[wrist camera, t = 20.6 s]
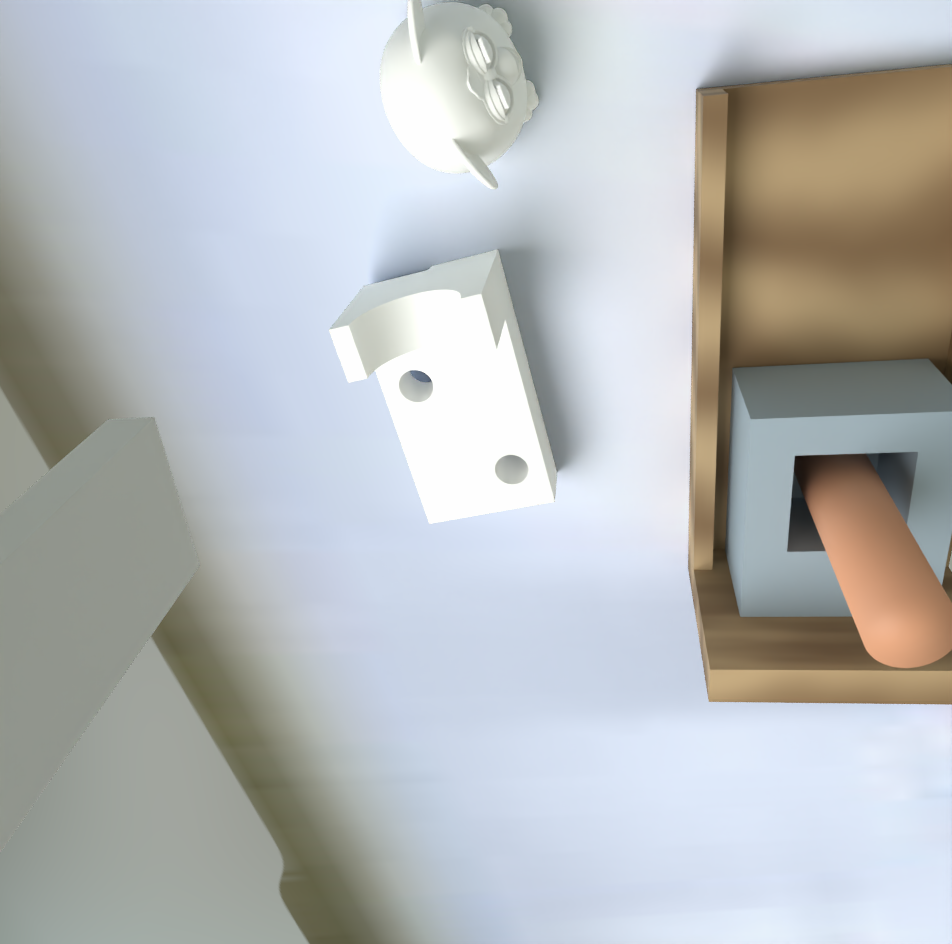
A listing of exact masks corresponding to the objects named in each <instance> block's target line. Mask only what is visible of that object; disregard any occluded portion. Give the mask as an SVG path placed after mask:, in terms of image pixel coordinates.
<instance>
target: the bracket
mask: <svg viewBox="0 0 952 944" xmlns="http://www.w3.org/2000/svg"><path fill="white" fill-rule="evenodd" d="M329 332H330V334H331V337H332V340H333V342H334V345H335V348H336V350H337V353H338V356H339V359H340V361H341V364H342V367H343V369H344V372H345V375H346V377H347V380H348V383H349V382H353V381H358V380H362V379H367V378H368V377H369V376H370V375H371V373H373V372H374V371H376V374H377V377H378V379H379V382H380V385H381V388H382V391H383V394H384V396H385V399H386V402H387V405H388V408H389V411H390V413H391V416H392V419H393V422H394V425H395V428H396V430H397V433H398V436H399V439H400V442H401V445H402V447H403V450H404V453H405V456H406V459H407V462H408V464H409V467H410V470H411V473H412V476H413V479H414V481H415V484H416V487H417V490H418V493H419V496H420V498H421V501H422V504H423V507H424V510H425V513H426V515H427V518H428V521H429V524H431V523H437V522H442V521H448V520H454V519H459V518H465V517H471V516H477V515H482V514H488V513H494V512H499V511H505V510H511V509H516V508H522V507H528V506H533V505H539V504H545V503H550V502H555V493H556V481H557V470H556V466H555V462H554V458H553V455H552V451H551V447H550V443H549V439H548V436H547V432H546V428H545V424H544V421H543V417H542V413H541V409H540V406H539V402H538V398H537V394H536V391H535V387H534V383H533V379H532V375H531V372H530V368H529V364H528V360H527V357H526V353H525V349H524V345H523V342H522V338H521V334H520V330H519V326H518V323H517V319H516V315H515V311H514V308H513V304H512V300H511V296H510V293H509V289H508V285H507V281H506V277H505V274H504V270H503V266H502V262H501V259H500V255H499V251H498V249H497V250H493V251H489V252H485V253H481V254H477V255H473V256H469V257H465V258H461V259H457V260H453V261H449V262H445V263H441V264H437V265H433V266H431V267H430V269H429V270H426V271H422V272H418V273H414V274H410V275H406V276H402V277H398V278H394V279H390V280H386V281H382V282H378V283H374V284H369V285H365V286H363V287H362V289H361V290H360V291H359V292H358V294H357V295H356V296H355V298H354V299H353V300H352V301H351V303H350V304H349V305H348V306H347V308H346V309H345V310H344V312H343V313H342V314H341V315H340V317H339V318H338V319H337V320H336V322H335V323H334V324H333V325H332V327H331V328H330V329H329ZM411 370H419V371H422V372H424V373H425V374H427V375H428V376H429V377H430V379H431V380H432V381H431V382H421V381H418V380H417V379H415V378H414V377H413V376H412V375H411V373H410V371H411ZM515 455H516V456H515Z"/></svg>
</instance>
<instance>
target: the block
mask: <svg viewBox="0 0 952 944" xmlns="http://www.w3.org/2000/svg"><path fill="white" fill-rule="evenodd" d="M864 453H866V454H867V456H868V458H869V459H870V461H871V463H872V465H873V466H874V468H875V470H876V472H877V473H878V475H879V477H880V479H881V480H882V482H883V484H884V486H885V487H886V489H887V491H888V493H889V494H890V496H891V498H892V500H893V501H894V503H895V505H896V507H897V508H898V510H899V512H900V514H901V515H902V517H903V519H904V521H905V522H906V524H907V526H908V528H909V529H910V531H911V533H912V535H913V536H914V538H915V540H916V542H917V543H918V545H919V547H920V549H921V550H922V552H923V554H924V556H925V557H926V559H927V561H928V563H929V564H930V566H931V568H932V570H933V571H934V573H935V575H936V576H937V578H938V580H939V582H940V583H941V585H942V583H943V577H944V572H945V567H946V561H947V556H948V551H949V545H950V540H951V535H952V384H951V383H950V382H949V381H948V380H947V379H946V378H945V377H944V376H943V374H942V373H941V372H940V371H939V370H938V369H937V368H936V367H935V366H934V364H933V363H932V362H931V361H930V360H929V359H908V360H887V361H867V362H846V363H825V364H804V365H783V366H763V367H742V368H732V393H731V417H730V442H729V466H728V491H727V515H726V540H725V552H726V556H727V561H728V565H729V569H730V574H731V578H732V583H733V587H734V592H735V596H736V600H737V605H738V609H739V614H740V617H849V616H852V614H851V612H850V609H849V607H848V604H847V602H846V599H845V597H844V595H843V592H842V590H841V587H840V585H839V582H838V580H837V577H836V575H835V572H834V570H833V567H832V565H831V562H830V560H829V557H828V555H827V552H826V550H825V548H824V545H823V543H822V540H821V538H820V535H819V533H818V530H817V528H816V525H815V523H814V520H813V518H812V515H811V513H810V510H809V508H808V505H807V503H806V501H805V498H804V496H803V493H802V491H801V488H800V486H799V483H798V481H797V478H796V476H795V473H794V460H795V456H802V455H833V454H864Z"/></svg>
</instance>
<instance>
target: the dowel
mask: <svg viewBox="0 0 952 944" xmlns="http://www.w3.org/2000/svg"><path fill="white" fill-rule="evenodd" d="M794 473H795V476H796V478H797V481H798V483H799V486H800V488H801V491H802V493H803V496H804V498H805V501H806V503H807V505H808V508H809V510H810V513H811V515H812V518H813V520H814V523H815V525H816V528H817V530H818V533H819V535H820V538H821V540H822V543H823V545H824V548H825V550H826V552H827V555H828V557H829V560H830V562H831V565H832V567H833V570H834V572H835V575H836V577H837V580H838V582H839V585H840V587H841V590H842V592H843V595H844V597H845V599H846V602H847V604H848V607H849V609H850V612H851V614H852V617H853V619H854V622H855V624H856V627H857V629H858V632H859V634H860V637H861V639H862V642H863V644H864V647H865V648H866V650H867V652H868V653H869V654H870V655H871V656H872V657H873V658H874V659H875V660H877V661H879V662H880V663H882V664H885V665H888V666H892V667H898V668H914V667H920V666H924V665H927V664H930V663H933V662H935V661H937V660H939V659H941V658H942V657H944V656H945V655H946V654H948V653H949V652H950V651H951V650H952V603H951V601H950V599H949V597H948V596H947V594H946V592H945V590H944V589H943V587H942V585H941V583H940V582H939V580H938V578H937V576H936V575H935V573H934V571H933V570H932V568H931V566H930V564H929V563H928V561H927V559H926V557H925V556H924V554H923V552H922V550H921V549H920V547H919V545H918V543H917V542H916V540H915V538H914V536H913V535H912V533H911V531H910V529H909V528H908V526H907V524H906V522H905V521H904V519H903V517H902V515H901V514H900V512H899V510H898V508H897V507H896V505H895V503H894V501H893V500H892V498H891V496H890V494H889V493H888V491H887V489H886V487H885V486H884V484H883V482H882V480H881V479H880V477H879V475H878V473H877V472H876V470H875V468H874V466H873V465H872V463H871V461H870V459H869V458H868V456H867V454H866V453H864V454H833V455H802V456H795V460H794Z"/></svg>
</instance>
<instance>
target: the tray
mask: <svg viewBox="0 0 952 944" xmlns="http://www.w3.org/2000/svg"><path fill="white" fill-rule="evenodd" d="M908 359H929V360H930V361H931V362H932V363H933V364H934V366H935V367H936V368H937V369H938V370H939V371H940V372H941V373H942V374H943V376H944V377H945V378H946V379H947V380H948V381H949V382H950V383H951V384H952V64H947V65H936V66H926V67H916V68H906V69H896V70H885V71H875V72H865V73H855V74H845V75H835V76H824V77H814V78H804V79H794V80H784V81H774V82H763V83H753V84H743V85H733V86H723V87H713V88H702V89H696V133H695V193H694V253H693V313H692V374H691V434H690V494H689V554H688V570H689V576H690V583H691V589H692V596H693V602H694V609H695V615H696V621H697V628H698V634H699V641H700V647H701V654H702V660H703V667H704V673H705V680H706V686H707V693H708V699H709V702H785V703H874V704H952V650H951V651H950V652H949V653H948V654H946V655H945V656H944V657H942V658H941V659H939V660H937V661H935V662H933V663H930V664H927V665H924V666H920V667H914V668H898V667H892V666H888V665H885V664H882V663H880V662H879V661H877V660H875V659H874V658H873V657H872V656H871V655H870V654H869V653H868V652H867V650H866V648H865V647H864V644H863V642H862V639H861V637H860V634H859V632H858V629H857V627H856V624H855V622H854V619H853V617H852V616H849V617H740V614H739V609H738V605H737V600H736V596H735V592H734V587H733V583H732V578H731V574H730V569H729V565H728V561H727V556H726V552H725V540H726V515H727V491H728V466H729V442H730V417H731V393H732V368H742V367H763V366H783V365H804V364H825V363H846V362H867V361H887V360H908ZM951 551H952V535H951V540H950V545H949V551H948V556H947V561H946V567H945V572H944V577H943V583H942V587H943V589H944V590H945V592H946V594H947V596H948V597H949V599H950V601H951V603H952V572H951V570H950V569H949V561H950V556H951Z"/></svg>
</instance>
